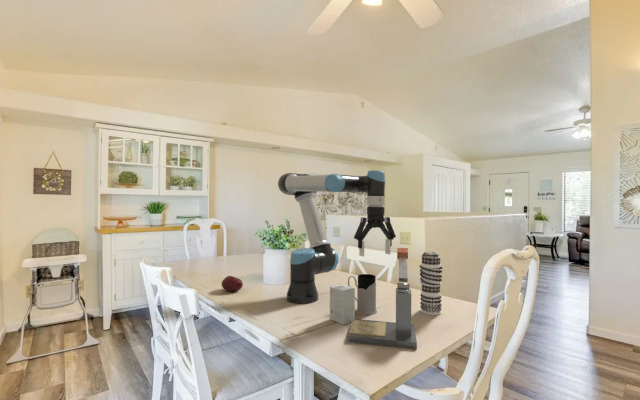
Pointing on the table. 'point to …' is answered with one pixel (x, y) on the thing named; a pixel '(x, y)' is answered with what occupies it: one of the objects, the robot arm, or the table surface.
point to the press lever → (402, 268)
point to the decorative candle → (430, 283)
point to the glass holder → (366, 294)
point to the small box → (342, 304)
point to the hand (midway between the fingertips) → (375, 255)
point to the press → (388, 327)
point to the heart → (232, 284)
